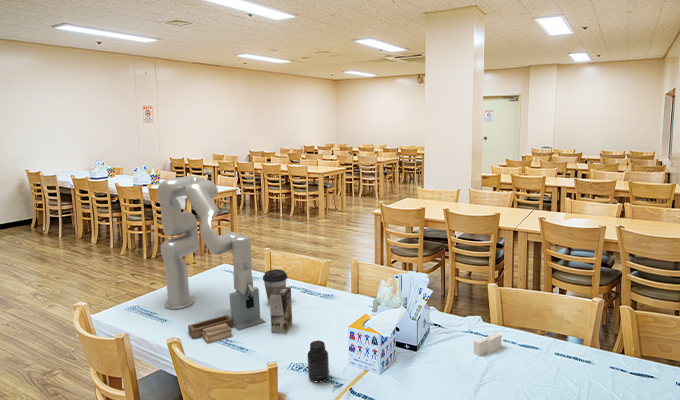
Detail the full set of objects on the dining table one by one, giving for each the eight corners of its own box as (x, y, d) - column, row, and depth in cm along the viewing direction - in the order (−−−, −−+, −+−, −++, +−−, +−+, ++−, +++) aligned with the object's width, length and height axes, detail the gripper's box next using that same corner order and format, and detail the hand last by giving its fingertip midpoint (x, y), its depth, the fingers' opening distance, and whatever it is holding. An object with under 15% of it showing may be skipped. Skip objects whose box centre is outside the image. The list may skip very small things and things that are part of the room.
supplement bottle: (308, 372, 158) (306, 339, 156) (328, 371, 158) (327, 338, 156) (308, 384, 151) (307, 349, 149) (329, 382, 152) (328, 348, 149)
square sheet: (231, 323, 196) (229, 293, 194) (257, 315, 203) (256, 286, 200) (233, 325, 194) (231, 295, 192) (260, 317, 201) (258, 288, 198)
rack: (188, 333, 188) (187, 325, 188) (227, 322, 198) (226, 314, 197) (193, 339, 184) (192, 330, 183) (233, 327, 193) (232, 319, 192)
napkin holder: (501, 343, 175) (502, 329, 174) (511, 359, 164) (512, 344, 163) (461, 343, 175) (461, 329, 174) (468, 359, 164) (468, 344, 163)
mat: (227, 320, 200) (227, 319, 200) (253, 313, 207) (253, 312, 206) (238, 330, 190) (238, 329, 190) (265, 322, 197) (265, 321, 197)
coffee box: (286, 333, 186) (284, 295, 183) (270, 332, 188) (268, 294, 185) (293, 323, 195) (291, 286, 192) (278, 322, 196) (276, 286, 193)
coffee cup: (259, 306, 213) (257, 275, 211) (272, 297, 224) (270, 267, 221) (281, 310, 209) (279, 278, 206) (293, 300, 219) (291, 269, 217)
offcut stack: (202, 337, 185) (201, 329, 185) (226, 330, 191) (225, 322, 190) (207, 344, 180) (206, 336, 179) (232, 337, 185) (232, 329, 184)
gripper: (226, 261, 199) (228, 300, 202) (242, 272, 185) (245, 313, 188) (242, 258, 203) (245, 295, 206) (260, 268, 189) (262, 308, 192)
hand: (245, 304), depth 197 cm, fingers open, 9 cm apart
